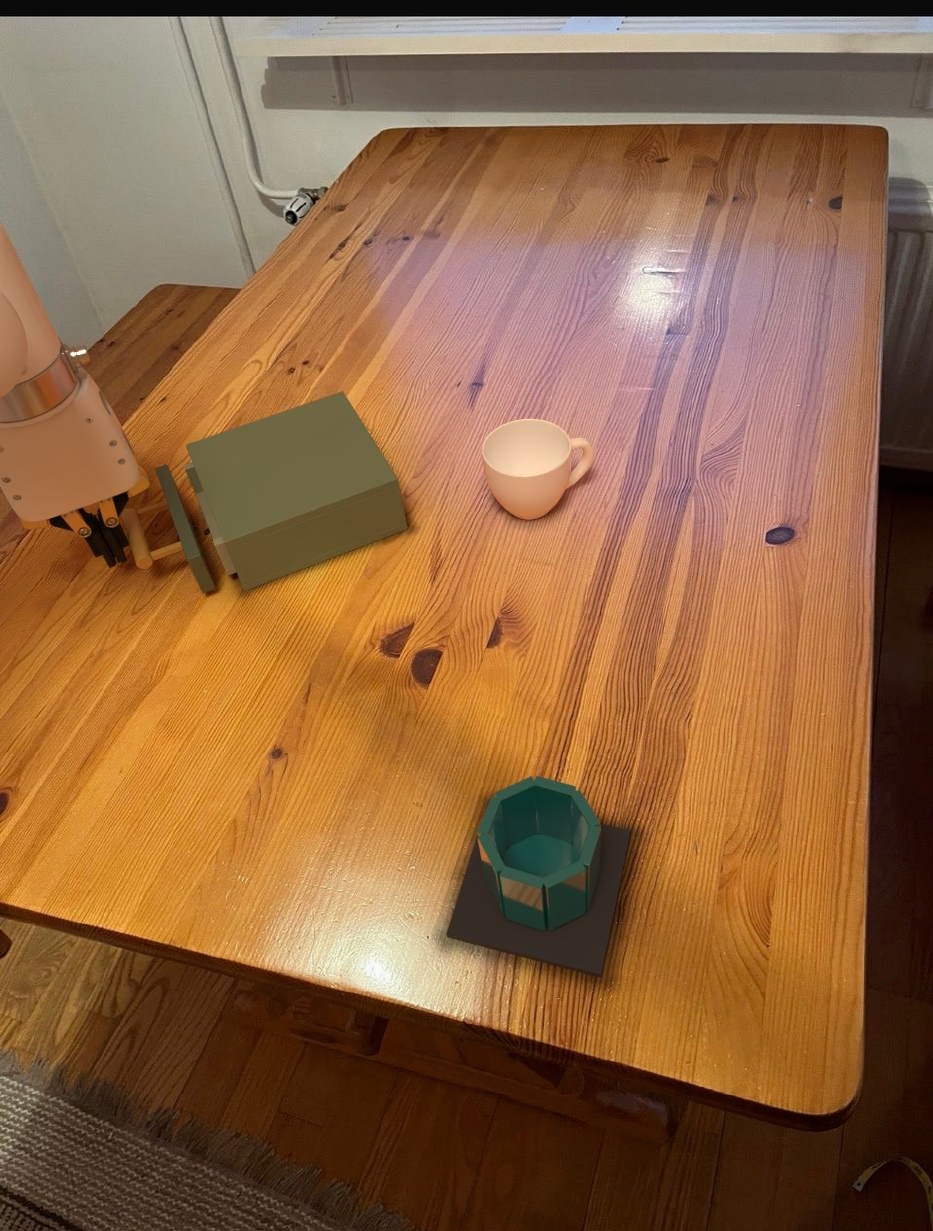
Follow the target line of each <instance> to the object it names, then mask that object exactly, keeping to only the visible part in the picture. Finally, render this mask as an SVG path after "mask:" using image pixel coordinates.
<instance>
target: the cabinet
mask: <svg viewBox="0 0 933 1231" xmlns="http://www.w3.org/2000/svg"><path fill="white" fill-rule="evenodd" d="M185 448H186V451H187V453H188V456H189V458H190V460H191V462H192V463H193V465H194V468H195V470H196V473H197V475H198V478H199V480H200V483H201V485H202V488H203V490H204V493H205V495H206V498H207V500H208V503H209V506H210V508H211V511H212V513H213V516H214V518H215V521H216V523H217V526H218V528H219V531H220V533H221V536H222V538H223V541H224V543H225V545H226V548H227V550H228V553H229V555H230V558H231V560H232V562H233V565H234V567H235V570H236V574H237V577H238V580H239V582H240V584H241V587H242V589H243V591H244V592H247V591H248V590H251V589H255V588H256V587H260V586H262V585H265V584H267V583H270V582H272V581H275V580H278V579H281V578H283V577H286V576H289V575H291V574H293V573H296V572H299V571H302V570H305V569H307V568H309V567H312V566H315V565H317V564H320V563H323V562H325V561H328V560H331V559H333V558H336V557H338V556H341V555H344V554H346V553H349V552H351V551H355V550H357V549H359V548H363V547H365V546H367V545H371V544H373V543H375V542H378V541H381V540H383V539H386V538H389V537H391V536H394V535H397V534H398V533H402V532H404V531H407V530H408V529H409V526H408V523H407V522H408V521H407V518H406V513H405V506H404V501H403V497H402V491H401V487H400V482H399V481H400V480H399V478H398V476H397V475H396V473H395V471H394V470H393V468H392V467H391V465H390V463H389V462H388V460H387V459H386V457H385V456H384V453H383V452H382V451H381V449H380V448H379V446H378V445H377V443H376V441H375V439H374V438H373V436H372V435H371V433H370V431H369V429H368V428H367V426H365V424H364V422H363V420H362V419H361V417H360V416H359V414H358V413H357V411H356V409H355V408H354V406H353V404H352V403H351V402H350V399H348V397H347V395H346V394H345V392H344V391H343V390H341V391H339V392H335V393H333V394H330V395H327V396H324V397H321V398H318V399H315V400H313V401H309V402H306V403H303V404H301V405H298V406H295V407H292V408H288V409H286V410H283V411H280V412H276V413H274V414H271V415H268V416H266V417H265V416H264V417H262V418H259V419H256V420H254V421H251V422H248V423H245V424H242V425H238V426H236V427H233V428H230V429H227V430H225V431H221V432H219V433H216V434H213V435H210V436H207V437H204V438H201V439H198V440H195V441H192V442H190V443H186V444H185Z"/></svg>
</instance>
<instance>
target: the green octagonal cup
mask: <svg viewBox="0 0 933 1231" xmlns="http://www.w3.org/2000/svg"><path fill="white" fill-rule="evenodd" d="M489 799H490V801H489V803H488V802H487V803H488V806H487V805H486V806H487V808H486V807H485V810H486V811H485V810H484V813H483V815H482V818H481V820H480V823H479V825H478V829H477V831H476V833H477V835H478V843H479V848H480V854H481V859H482V865H483V870H484V876H485V881H486V884H487V886H488V888H489V890H490V892H491V894H492V896H493V898H494V900H495V902H496V904H497V906H498V908H499V910H500V912H501V914H502V915H505V914H506V919H508V920H511V921H514V922H517V923H520V924H523V925H526V926H529V927H532V928H536V929H539V930H542V931H545V930H546V927H547V928H548V930H549V931H551V930H553V929H555V928H557V927H559V926H561V925H563V924H565V923H567V922H569V921H571V920H573V919H575V918H577V917H579V916H581V915H583V914H585V912H586V909H587V910H589V908H590V904H591V901H592V898H593V894H594V891H595V888H596V884H597V881H598V878H599V875H600V846H601V828H600V824H601V822H600V819H599V817H598V816H597V815H596V813H595V811H594V810H593V809H592V807H591V805H590V804H589V802H588V800H587V799H586V797H585V796H584V793H583V792H582V791H581V790H580V789H577V786H575V785H572V784H569V783H565V782H563V781H562V782H561V781H557V780H553V779H551V778H548V777H547V778H546V777H543V776H539V775H535V778H534V777H533V776H532V775H531V776H528V777H526V778H524V779H522V780H519V781H517V782H515V783H513V784H510V785H509V786H506V787H504V788H502V789H499V790H497V791H495V792H494V796H490V798H489ZM537 833H540V834H537ZM535 834H537V835H535ZM569 842H571V843H572V844H573V845H572V844H571V843H569ZM509 846H510V847H509ZM507 847H509V848H508V849H507ZM506 849H507V850H506Z"/></svg>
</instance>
